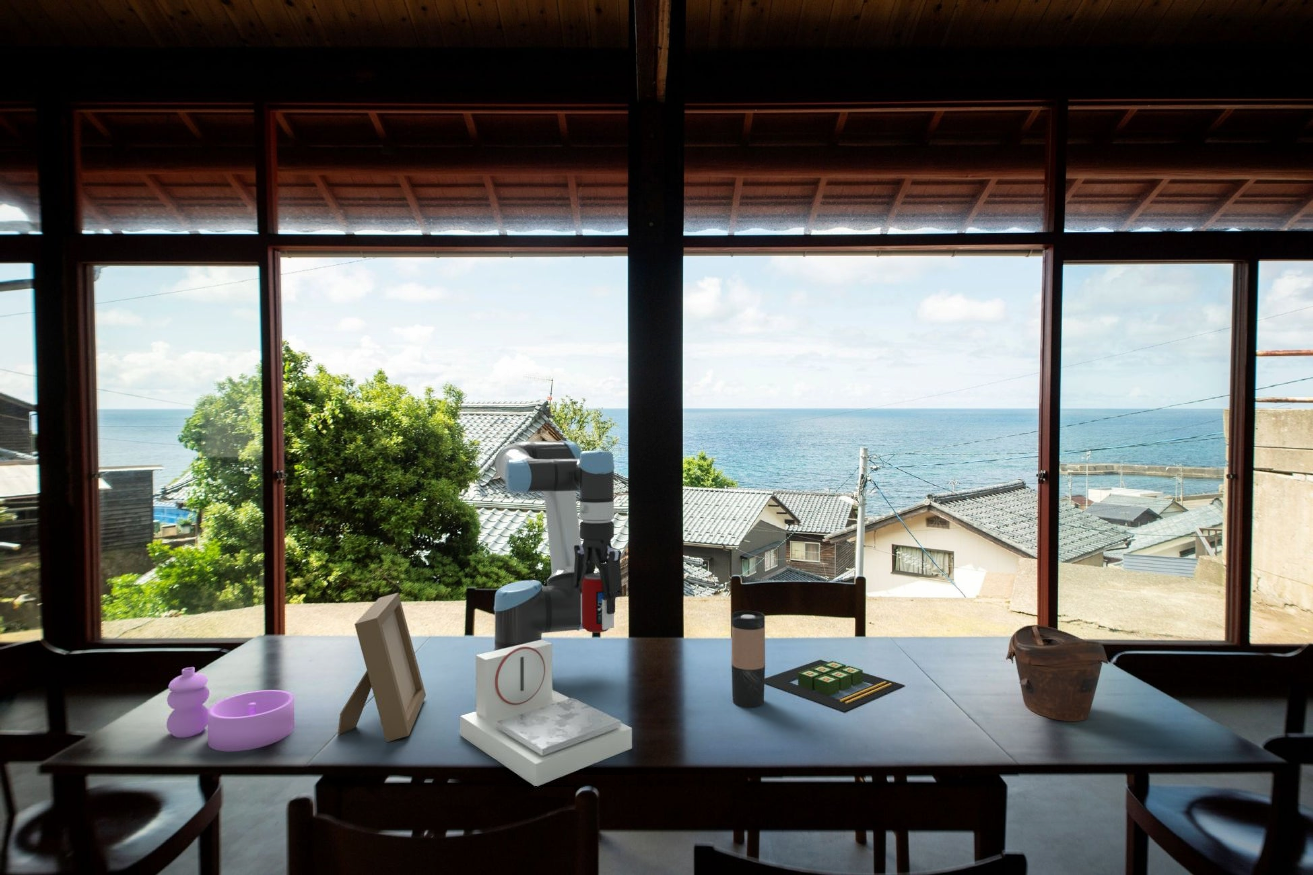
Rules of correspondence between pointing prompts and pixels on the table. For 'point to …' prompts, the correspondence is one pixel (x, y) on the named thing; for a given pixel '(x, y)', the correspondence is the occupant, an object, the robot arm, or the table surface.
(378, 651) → the photo frame
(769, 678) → the sushi
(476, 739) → the scale
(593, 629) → the beverage can
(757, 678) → the travel mug
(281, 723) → the container set
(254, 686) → the table surface
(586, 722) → the weighing pan
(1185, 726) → the table surface
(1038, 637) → the case
